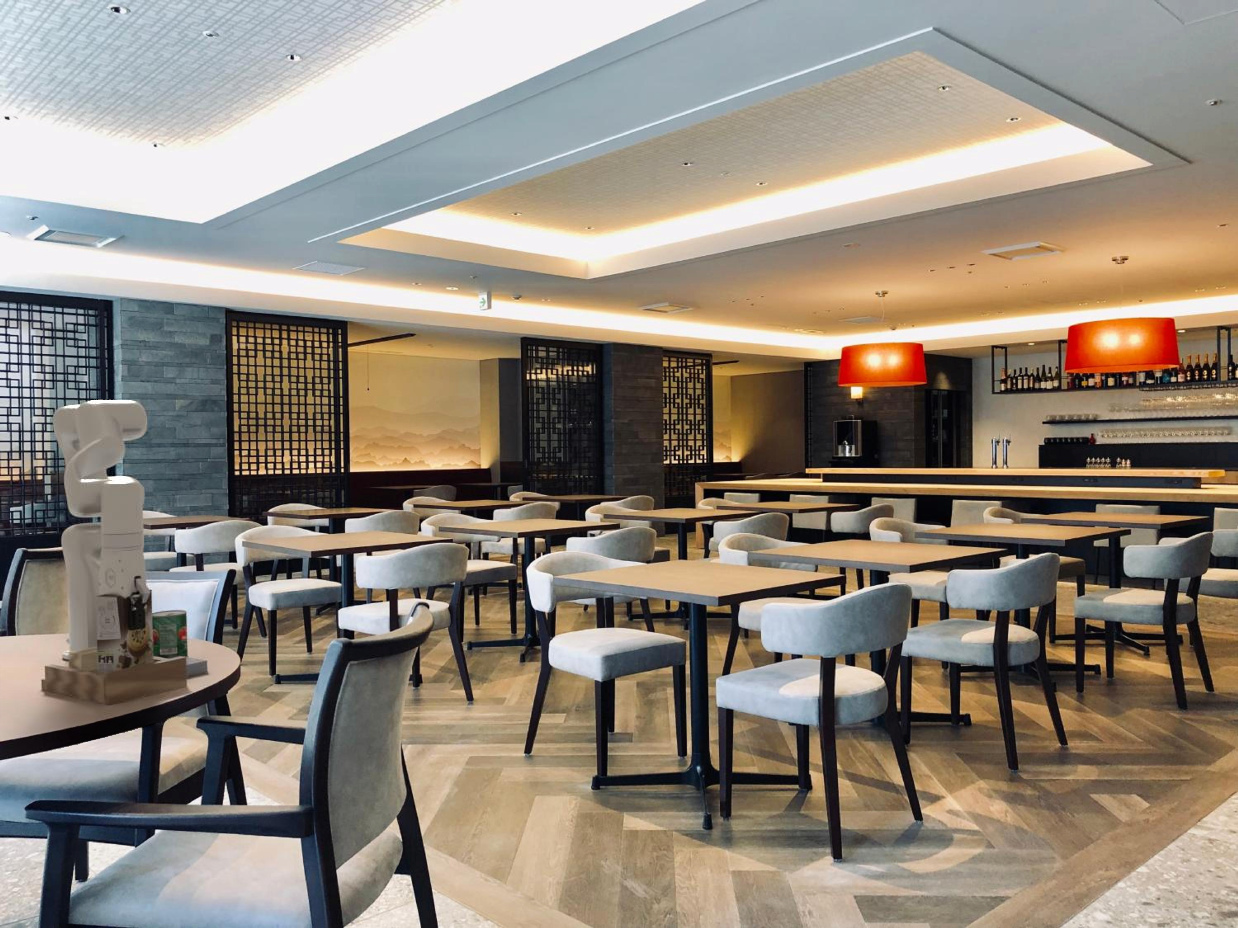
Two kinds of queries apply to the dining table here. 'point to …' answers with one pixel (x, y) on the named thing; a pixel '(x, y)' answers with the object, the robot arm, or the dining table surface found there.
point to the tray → (117, 681)
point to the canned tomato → (170, 633)
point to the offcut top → (83, 659)
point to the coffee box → (121, 635)
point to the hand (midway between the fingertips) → (125, 626)
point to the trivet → (194, 665)
